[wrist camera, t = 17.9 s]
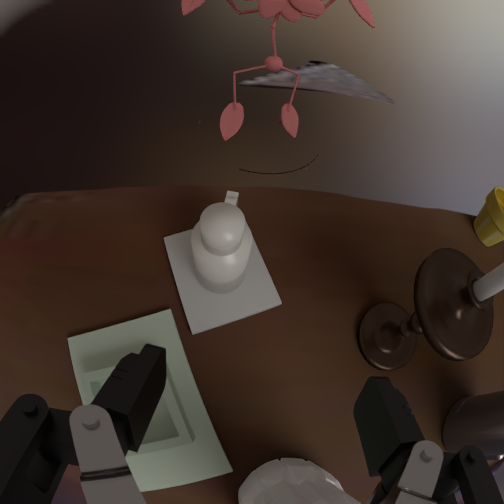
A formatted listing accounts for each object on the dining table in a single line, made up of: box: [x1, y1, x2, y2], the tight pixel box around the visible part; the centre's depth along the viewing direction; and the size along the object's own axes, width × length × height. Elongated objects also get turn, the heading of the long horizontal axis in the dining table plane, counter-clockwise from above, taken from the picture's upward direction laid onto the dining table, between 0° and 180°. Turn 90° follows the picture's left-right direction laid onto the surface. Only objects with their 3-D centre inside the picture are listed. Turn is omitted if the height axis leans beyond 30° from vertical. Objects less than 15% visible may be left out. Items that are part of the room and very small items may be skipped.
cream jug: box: [191, 191, 252, 294], centre depth 30 cm, size 9×6×10 cm
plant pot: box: [474, 186, 504, 246], centre depth 40 cm, size 10×10×10 cm
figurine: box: [182, 0, 375, 174], centre depth 31 cm, size 15×26×35 cm, turn 98°
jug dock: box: [68, 309, 233, 492], centre depth 24 cm, size 20×14×4 cm
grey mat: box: [164, 221, 282, 335], centre depth 34 cm, size 13×11×1 cm
